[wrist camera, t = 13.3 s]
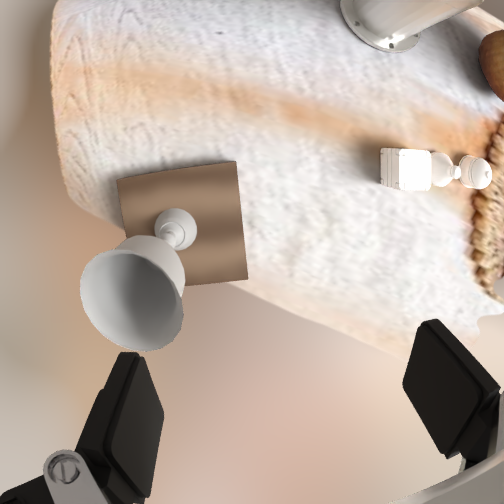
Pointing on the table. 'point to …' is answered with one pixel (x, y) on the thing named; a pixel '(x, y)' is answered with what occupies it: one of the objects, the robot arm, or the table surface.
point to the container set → (430, 170)
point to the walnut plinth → (203, 212)
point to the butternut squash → (493, 61)
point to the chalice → (140, 285)
